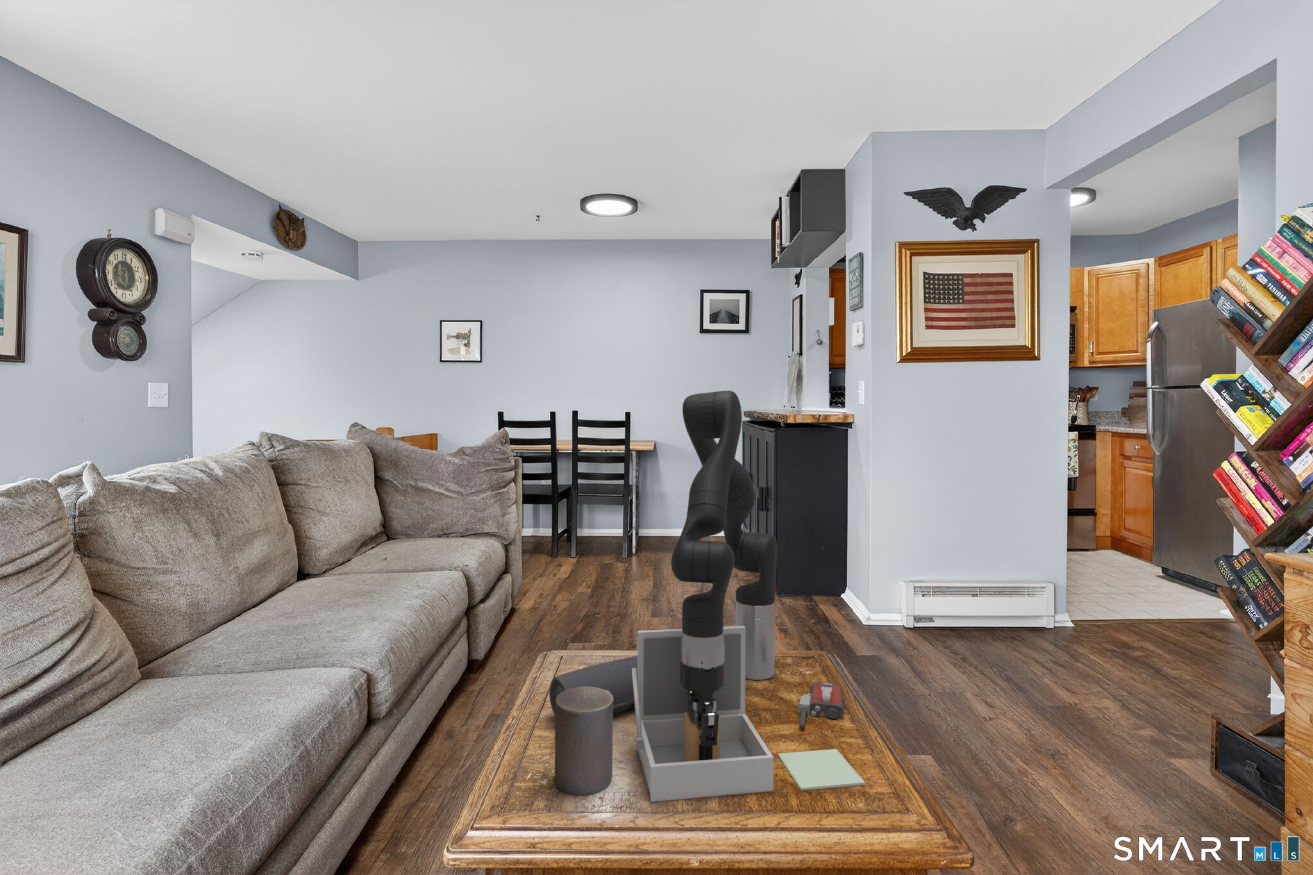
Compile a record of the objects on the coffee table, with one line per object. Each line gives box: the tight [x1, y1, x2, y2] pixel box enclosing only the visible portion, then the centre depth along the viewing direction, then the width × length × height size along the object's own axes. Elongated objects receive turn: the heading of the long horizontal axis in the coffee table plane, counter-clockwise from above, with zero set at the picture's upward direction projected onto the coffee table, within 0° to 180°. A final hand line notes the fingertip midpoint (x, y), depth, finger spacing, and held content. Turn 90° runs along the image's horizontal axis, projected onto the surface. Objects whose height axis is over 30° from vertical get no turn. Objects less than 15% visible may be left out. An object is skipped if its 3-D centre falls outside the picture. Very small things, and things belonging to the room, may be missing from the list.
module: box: [685, 711, 720, 762], centre depth 111 cm, size 5×5×8 cm
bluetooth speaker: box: [548, 655, 637, 716], centre depth 133 cm, size 23×9×10 cm, turn 124°
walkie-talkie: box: [798, 681, 844, 729], centre depth 134 cm, size 9×4×20 cm
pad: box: [777, 748, 866, 791], centre depth 111 cm, size 11×11×1 cm
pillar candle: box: [554, 686, 614, 796], centre depth 108 cm, size 10×10×15 cm
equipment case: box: [632, 625, 775, 803], centre depth 111 cm, size 18×21×22 cm
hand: (701, 755), depth 111 cm, fingers closed on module, 5 cm apart
